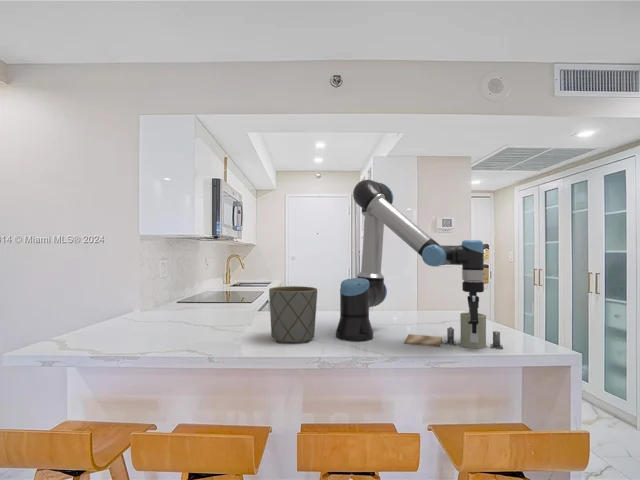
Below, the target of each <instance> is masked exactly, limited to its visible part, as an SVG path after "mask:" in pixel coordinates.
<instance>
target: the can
mask: <svg viewBox="0 0 640 480" xmlns="http://www.w3.org/2000/svg"><path fill="white" fill-rule="evenodd" d="M459 316H460V317H459V318H460V320H459V321H460V322H459V323H460V338H459V339H460V341H459V345H460V346H461V347H464V348H469V349H475V348H478V350H480V349H479V348H482V349H485V348H487V315H486V314H483V313H479V312H478V321H479V322H478V343H477V342H470V324H468V321H470V313H469V312H461V313H460V314H459Z"/></svg>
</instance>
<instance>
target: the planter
mask: <svg viewBox="0 0 640 480" xmlns="http://www.w3.org/2000/svg"><path fill="white" fill-rule="evenodd" d="M268 295H269V316H270V332H271V333H270V335H271V338H272V339H273V340H274V341H275V342H276V343H277V344H278V343H310V342H311V341H312V339H314V337H315V335H316V334H315V333H316V332H315V331H316V315H317V301H318V288H317V287H313V286H301V285H296V286H295V285H292V286H291V285H290V286H289V285H286V286H275V287H270V288H269V290H268Z"/></svg>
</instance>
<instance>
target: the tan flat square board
mask: <svg viewBox="0 0 640 480" xmlns="http://www.w3.org/2000/svg"><path fill="white" fill-rule="evenodd" d="M442 338H443V336H435V335H425V334H424V335H422V334H412V333H411V334H408V335H407V336H406V338H405V340H404V344H406V345H416V346H417V345H418V346H428V347H429V346H430V347H437V348H438V347H439V348H440V347H441V345H442V340H443V339H442Z"/></svg>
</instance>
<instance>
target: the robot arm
mask: <svg viewBox="0 0 640 480" xmlns="http://www.w3.org/2000/svg"><path fill="white" fill-rule="evenodd" d="M352 197H353V200H354V202H355V204H356V205H358V206H359V207H360V208H361V214H362V215H363V216H364V220H363V221H364V222H363V223H364V224H363V238H362V255H361V268H360V271H359V273H358V274H357V275H356V277H352V278H347V279H344V280H342V281H341V282H340V289H339V293H340V294H339V295H340V296H339V299H340V301H339V302H340V304H339V306H340V309H339V311H340V313H339V316H340V317H339V321H338V324H337V327H336V330H335V337H336V339H339V340H342V341H347V342H364V341H370V340H372V339H373V338H374V331H373V327H372V324H371V320H370V308H372V307H376V306H379V305H380V304H381V303H383V302H384V301H385V300H386V298H387V292H388V288H387V286H386V284H385V277H384V275H383V274H382V260H383V259H382V258H383V245H384V234H385V233H384V230H385V229H384V228H385V226H386V227H387V228H388V229H389V230H391V231H392V232H393V233H394V234H395V235H396V236H397V237H399V238H400V239H401V240H402V242H403V241H404V243H406V245H408V246H409V247H410V248H411V249H412V250H413V251H414V252H416V253H417V254H418V255H419V256H420V257H421V259H422V261H423V262H424V264H425V265H428V266H430V267H436V268H437V267H440V266H462V267H461V276H462V277H461V280H462V283H461V284H462V286H461V287H462V288H461V289H462V290H461V291H463V292H464V293H468V295H467V304H468V308H469V309H468V313H470V321H468V324H470V342H477V343H478V322H479V321H478V313H479V307H480V306H479V302H480V297H479V296H478V293H484V292H485V283H484V278H485V277H484V276H486V272H484V271H485V270H484V266H485V265H484V264H485V263H484V262H485V260H484V259H485V258H484V255H485V251H484V243H483V241H482V240H481V239H479V240H478V239H472V240H471V239H470V240H469V239H468V240H467V239H466V240H462V242H461V245H440V244H439V243H438V242H437V241H436V240H434V239H433V238H432V237H431V236H429V234H428V233H426V232H425V231H424V230H422V229H421V228H420V227H419V226H418V225H417V224H416V223H415V222H413V221H412V220H411V219H410V218H408V217H407V216H406V215H404V214H403V213H402V212H401V211H400V210H399V209H398V208H397V207H395V206H394V205H393V202H394V193H393V191H392V190H391V188H390V187H389V186H387V185H386V184H384V183H382V182H378V181H374V180H372V179H362V180H360V181H359V182H358V183H356V185H355V186H354V188H353V191H352Z"/></svg>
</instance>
